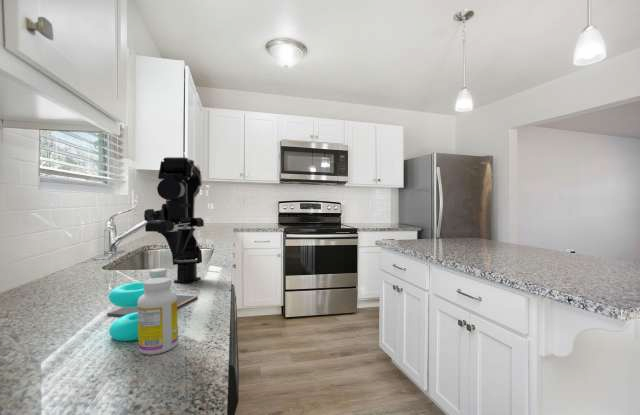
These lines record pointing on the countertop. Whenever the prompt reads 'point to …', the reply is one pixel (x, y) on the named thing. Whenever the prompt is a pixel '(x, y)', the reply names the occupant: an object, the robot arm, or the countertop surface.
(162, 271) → the pill bottle
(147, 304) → the supplement bottle
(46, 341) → the countertop surface
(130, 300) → the donuts
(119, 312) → the mat
